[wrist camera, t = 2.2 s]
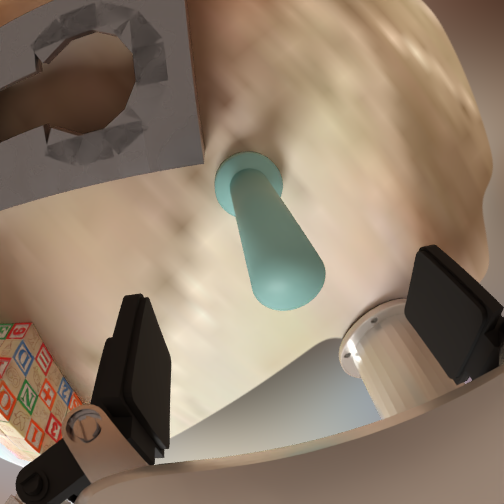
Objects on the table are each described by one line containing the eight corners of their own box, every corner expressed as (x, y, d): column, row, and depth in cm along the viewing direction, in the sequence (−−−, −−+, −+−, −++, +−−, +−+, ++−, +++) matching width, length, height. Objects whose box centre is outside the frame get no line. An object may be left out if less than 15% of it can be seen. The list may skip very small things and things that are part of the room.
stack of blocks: (100, 425, 39) (90, 494, 28) (68, 423, 38) (54, 487, 27) (32, 320, 28) (-10, 404, 18) (-3, 322, 28) (-45, 396, 17)
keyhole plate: (185, -15, 17) (181, -37, 13) (204, 151, 23) (203, 163, 19) (-49, 79, 15) (-78, 83, 11) (-25, 209, 22) (-50, 228, 18)
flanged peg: (277, 148, 24) (353, 211, 11) (281, 209, 26) (345, 318, 14) (210, 156, 23) (213, 229, 11) (219, 217, 26) (232, 338, 14)
